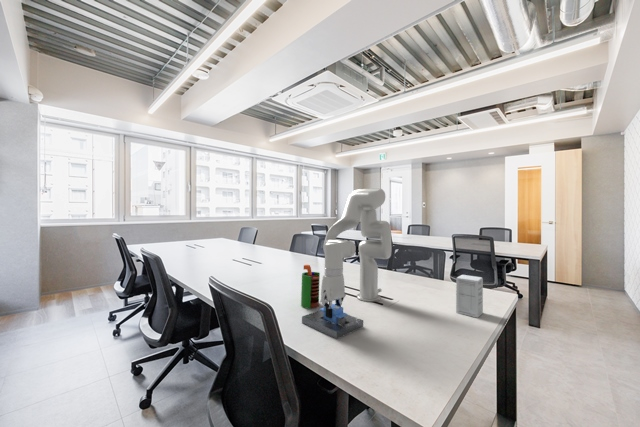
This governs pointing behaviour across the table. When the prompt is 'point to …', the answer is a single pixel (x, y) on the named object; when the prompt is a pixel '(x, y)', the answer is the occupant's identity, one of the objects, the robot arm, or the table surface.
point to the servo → (335, 314)
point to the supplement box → (469, 295)
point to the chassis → (329, 328)
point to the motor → (310, 288)
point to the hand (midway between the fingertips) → (333, 315)
